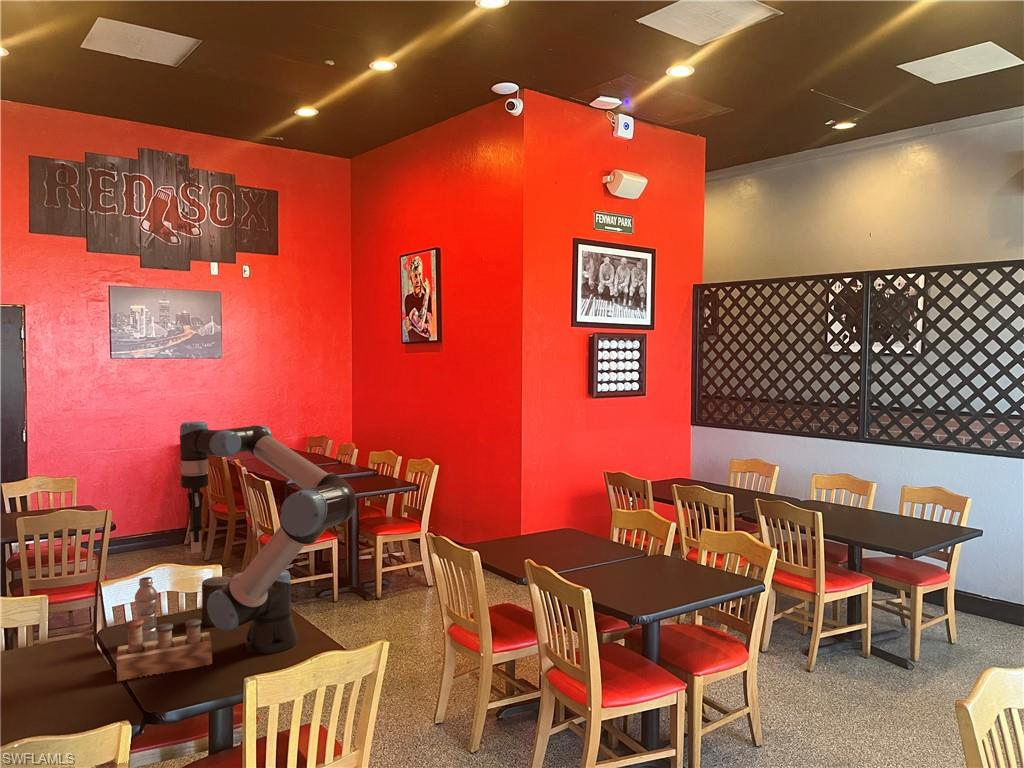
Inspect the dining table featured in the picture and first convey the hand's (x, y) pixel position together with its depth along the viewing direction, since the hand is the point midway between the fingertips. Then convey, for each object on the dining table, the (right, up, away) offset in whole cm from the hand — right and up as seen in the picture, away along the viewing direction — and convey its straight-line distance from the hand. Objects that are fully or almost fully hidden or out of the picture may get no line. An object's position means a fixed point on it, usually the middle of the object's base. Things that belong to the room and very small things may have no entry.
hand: (196, 552), depth 217 cm
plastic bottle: (-18, -30, +7) cm, 36 cm away
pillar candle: (-4, -29, +25) cm, 39 cm away
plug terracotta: (-11, -27, -13) cm, 32 cm away
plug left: (+2, -30, -6) cm, 30 cm away
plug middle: (-5, -30, -9) cm, 31 cm away
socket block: (-5, -30, -9) cm, 32 cm away
